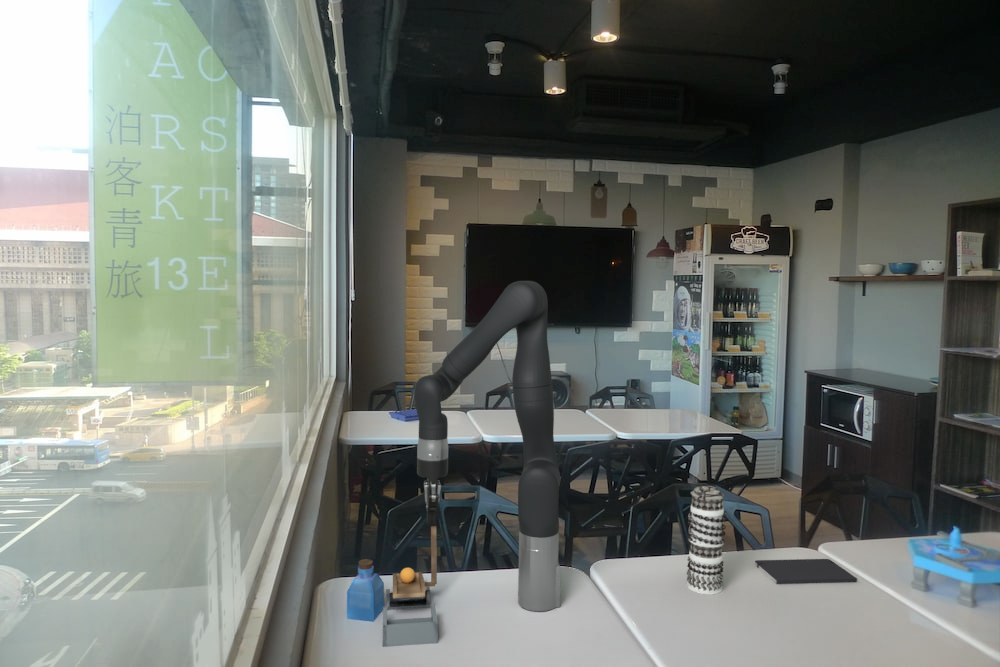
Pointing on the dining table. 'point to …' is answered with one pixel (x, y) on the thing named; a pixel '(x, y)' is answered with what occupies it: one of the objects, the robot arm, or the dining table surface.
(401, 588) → the lever
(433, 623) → the tray
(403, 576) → the ball
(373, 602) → the perfume bottle
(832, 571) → the notebook
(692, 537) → the decorative candle
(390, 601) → the fulcrum
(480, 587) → the dining table surface
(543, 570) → the robot arm
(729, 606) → the dining table surface
